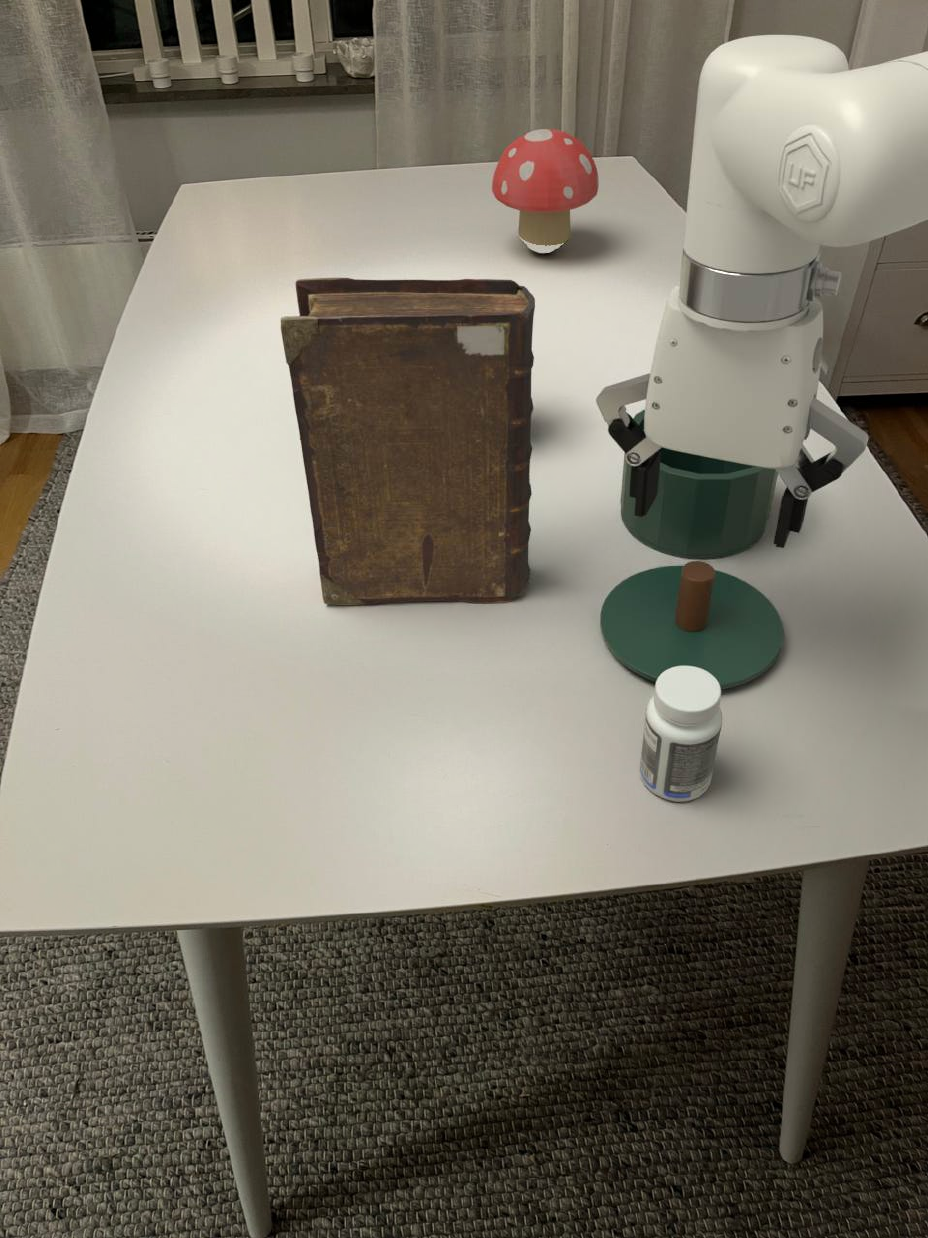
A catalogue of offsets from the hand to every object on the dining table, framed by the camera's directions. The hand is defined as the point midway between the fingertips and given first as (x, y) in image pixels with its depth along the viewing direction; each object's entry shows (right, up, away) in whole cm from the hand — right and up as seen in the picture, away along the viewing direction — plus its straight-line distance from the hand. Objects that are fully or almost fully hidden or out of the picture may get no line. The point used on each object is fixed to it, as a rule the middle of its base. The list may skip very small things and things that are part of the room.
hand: (712, 520), depth 70 cm
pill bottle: (-3, -17, -3) cm, 18 cm away
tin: (+3, +2, +19) cm, 19 cm away
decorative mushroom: (-7, +41, +63) cm, 76 cm away
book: (-20, -4, +13) cm, 24 cm away
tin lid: (0, -7, +7) cm, 10 cm away
